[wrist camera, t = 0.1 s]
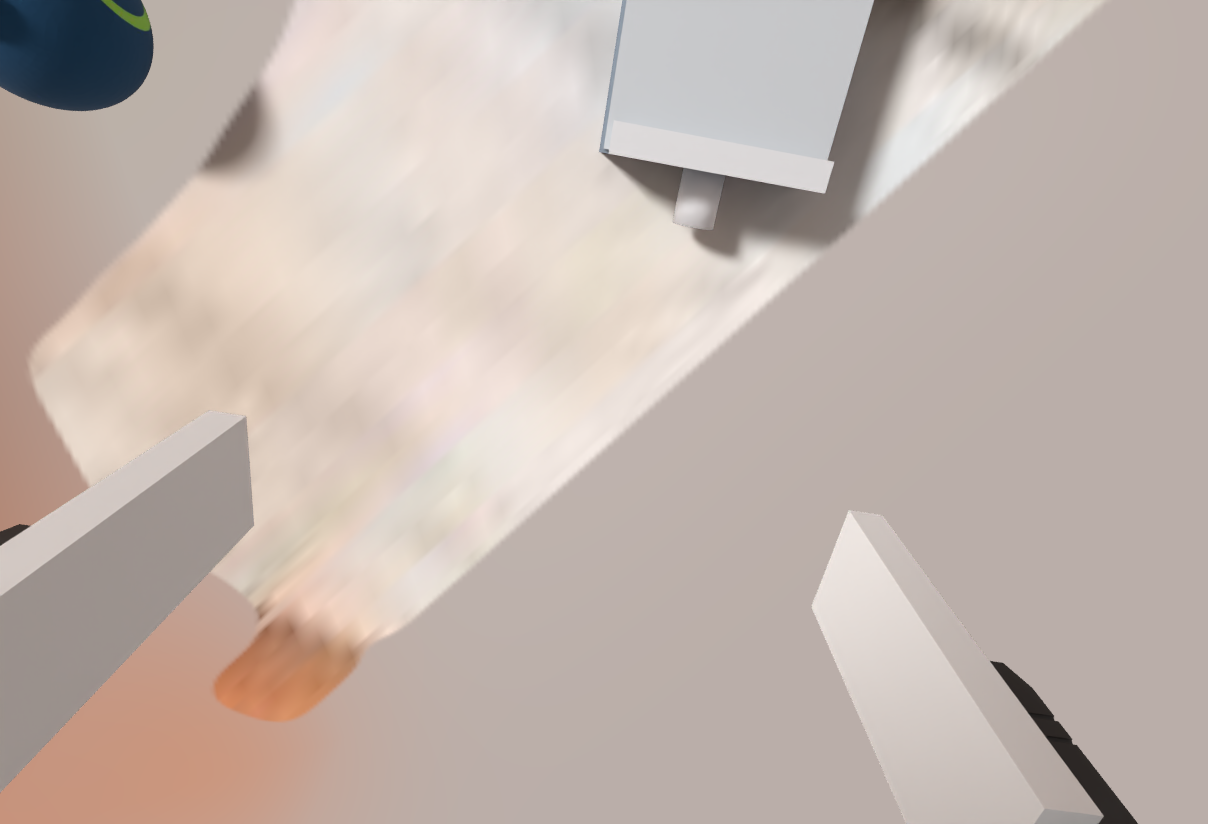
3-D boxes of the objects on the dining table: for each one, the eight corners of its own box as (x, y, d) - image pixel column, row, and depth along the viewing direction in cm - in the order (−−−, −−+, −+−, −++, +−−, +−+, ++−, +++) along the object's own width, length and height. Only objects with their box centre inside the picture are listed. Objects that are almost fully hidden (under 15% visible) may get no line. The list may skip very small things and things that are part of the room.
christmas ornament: (207, 111, 36) (67, 97, 26) (67, 118, 36) (-120, 106, 27) (160, -64, 32) (-18, -151, 23) (6, -55, 32) (-232, -138, 23)
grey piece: (666, -278, 29) (682, -402, 22) (908, -222, 30) (992, -328, 23) (592, 204, 37) (588, 215, 31) (781, 238, 38) (816, 255, 32)
